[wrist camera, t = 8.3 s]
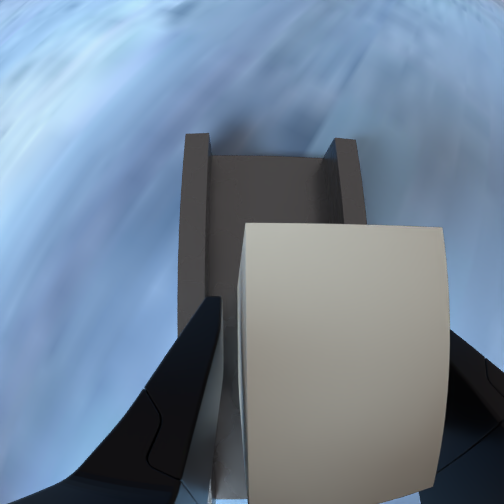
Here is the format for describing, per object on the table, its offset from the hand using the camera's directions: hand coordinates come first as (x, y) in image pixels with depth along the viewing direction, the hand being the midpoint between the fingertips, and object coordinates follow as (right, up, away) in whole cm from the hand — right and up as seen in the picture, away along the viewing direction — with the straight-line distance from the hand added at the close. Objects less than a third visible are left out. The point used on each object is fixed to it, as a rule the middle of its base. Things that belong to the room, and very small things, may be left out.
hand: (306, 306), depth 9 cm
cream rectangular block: (-1, -3, +8) cm, 8 cm away
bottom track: (-1, -3, +8) cm, 9 cm away
